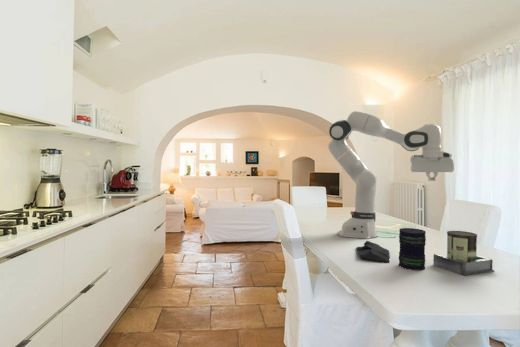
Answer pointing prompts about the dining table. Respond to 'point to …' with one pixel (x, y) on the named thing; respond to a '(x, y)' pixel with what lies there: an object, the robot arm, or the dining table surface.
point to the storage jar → (412, 248)
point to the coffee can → (461, 245)
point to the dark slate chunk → (373, 252)
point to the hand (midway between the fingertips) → (431, 180)
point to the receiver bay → (464, 265)
